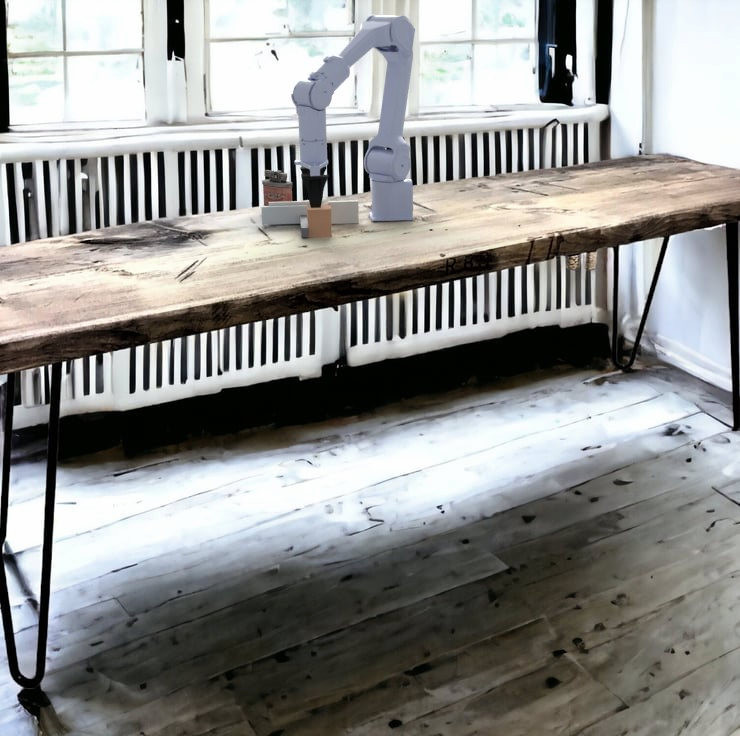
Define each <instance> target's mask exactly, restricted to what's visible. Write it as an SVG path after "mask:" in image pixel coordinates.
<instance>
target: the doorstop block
mask: <svg viewBox="0 0 740 736" xmlns="http://www.w3.org/2000/svg"><path fill="white" fill-rule="evenodd" d="M307 219H308V233H309V237H308V238H332V237H333V234H332V233H333V229H332V228H333V227H332V225H333V224H332V222H331V206H330V205H327V204H326V205H324V204H323V205H322V204H321V208H311V206H307Z"/></svg>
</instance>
